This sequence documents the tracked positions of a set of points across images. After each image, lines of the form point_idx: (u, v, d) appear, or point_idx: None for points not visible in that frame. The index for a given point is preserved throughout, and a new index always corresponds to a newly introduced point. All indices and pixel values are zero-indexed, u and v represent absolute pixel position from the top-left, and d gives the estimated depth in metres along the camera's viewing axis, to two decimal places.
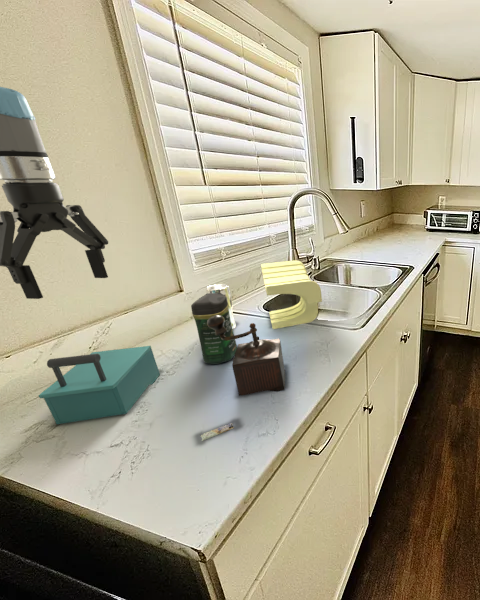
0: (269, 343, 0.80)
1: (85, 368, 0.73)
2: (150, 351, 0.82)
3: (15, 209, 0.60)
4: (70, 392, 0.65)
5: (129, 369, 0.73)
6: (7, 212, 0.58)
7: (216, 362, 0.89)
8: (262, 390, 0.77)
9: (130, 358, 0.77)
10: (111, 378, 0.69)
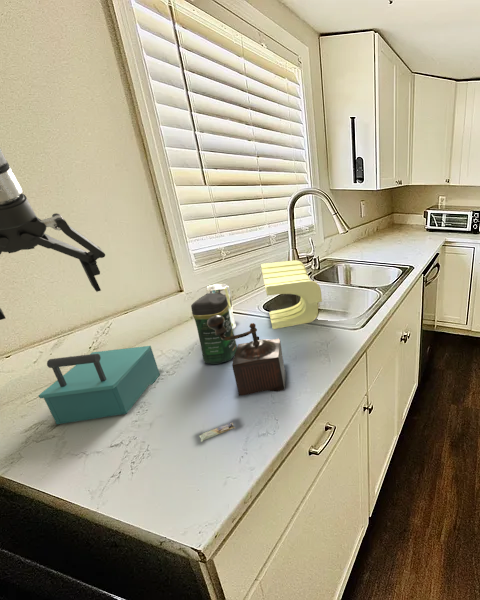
0: (269, 343, 0.80)
1: (85, 368, 0.73)
2: (150, 351, 0.82)
3: None
4: (70, 392, 0.65)
5: (129, 369, 0.73)
6: None
7: (216, 362, 0.89)
8: (262, 390, 0.77)
9: (130, 358, 0.77)
10: (111, 378, 0.69)
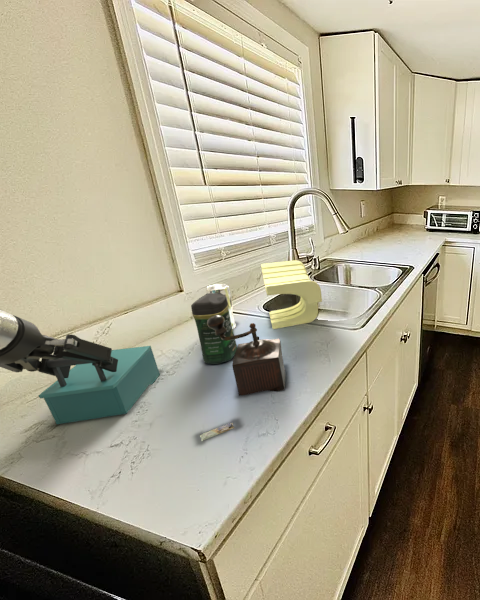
0: (269, 343, 0.80)
1: (85, 368, 0.73)
2: (150, 351, 0.82)
3: None
4: (70, 392, 0.65)
5: (129, 369, 0.73)
6: None
7: (216, 362, 0.89)
8: (262, 390, 0.77)
9: (130, 358, 0.77)
10: (111, 378, 0.69)
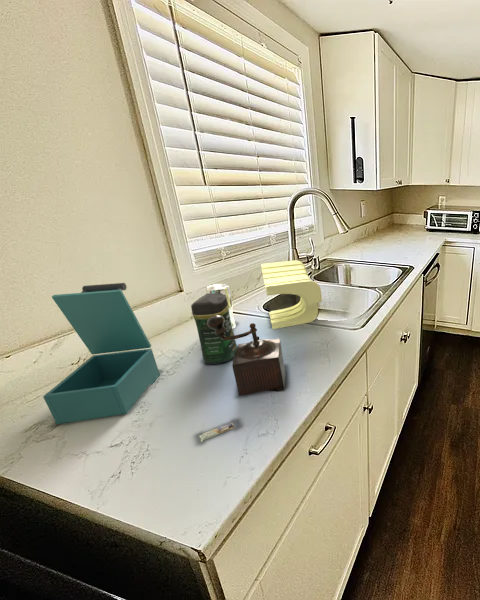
0: (269, 343, 0.80)
1: None
2: (150, 351, 0.82)
3: None
4: (81, 293, 0.71)
5: (133, 313, 0.76)
6: None
7: (216, 362, 0.89)
8: (262, 390, 0.77)
9: None
10: None
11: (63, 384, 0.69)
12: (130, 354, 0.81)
